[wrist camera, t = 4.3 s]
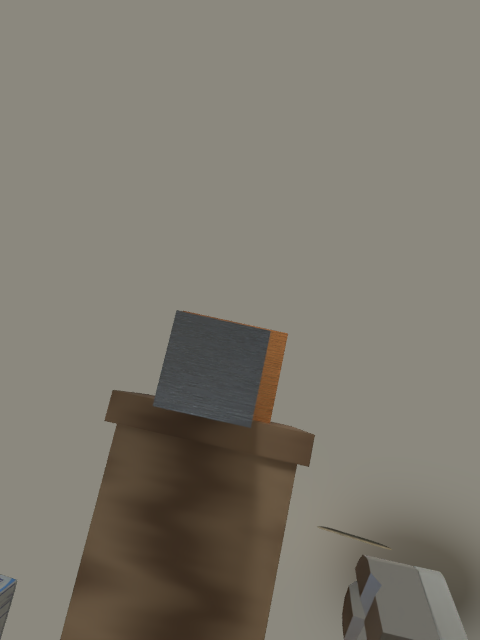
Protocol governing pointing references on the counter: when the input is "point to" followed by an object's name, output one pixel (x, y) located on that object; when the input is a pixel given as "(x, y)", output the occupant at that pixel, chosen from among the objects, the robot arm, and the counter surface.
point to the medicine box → (5, 598)
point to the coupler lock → (220, 369)
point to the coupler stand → (185, 527)
